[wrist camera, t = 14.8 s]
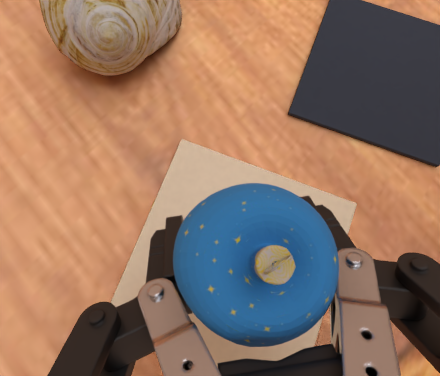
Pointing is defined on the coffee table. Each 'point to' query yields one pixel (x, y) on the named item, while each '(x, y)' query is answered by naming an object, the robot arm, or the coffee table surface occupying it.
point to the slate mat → (375, 79)
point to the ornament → (256, 264)
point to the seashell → (110, 31)
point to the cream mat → (182, 205)
